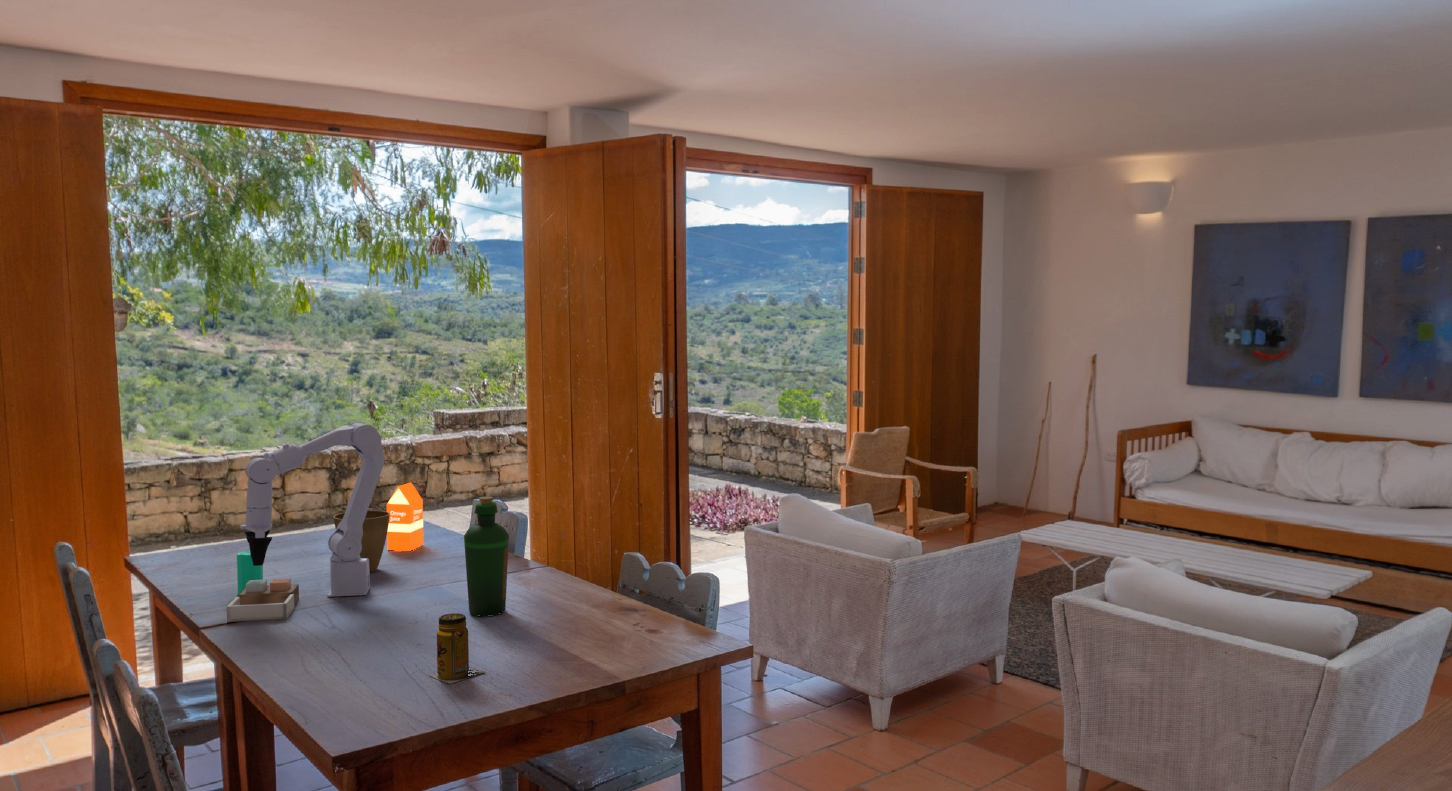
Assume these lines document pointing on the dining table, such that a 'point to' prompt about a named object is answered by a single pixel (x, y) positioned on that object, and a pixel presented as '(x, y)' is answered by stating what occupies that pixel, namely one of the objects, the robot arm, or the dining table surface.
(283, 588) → the tile terracotta
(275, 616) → the tray
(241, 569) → the candle
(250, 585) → the grey rectangular prism
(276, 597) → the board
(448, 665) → the condiment
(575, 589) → the dining table surface
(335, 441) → the robot arm
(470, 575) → the bottle
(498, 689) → the dining table surface
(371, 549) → the plant pot
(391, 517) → the orange juice
